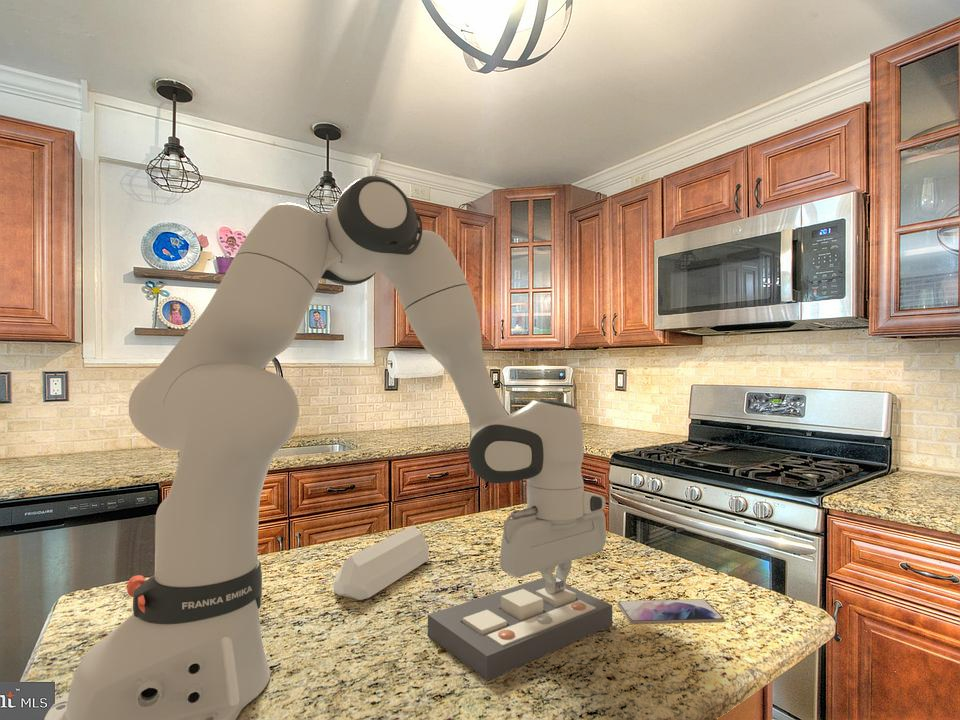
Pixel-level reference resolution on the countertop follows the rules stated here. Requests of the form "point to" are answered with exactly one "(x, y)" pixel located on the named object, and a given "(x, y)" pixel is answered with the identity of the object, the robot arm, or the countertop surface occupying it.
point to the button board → (516, 630)
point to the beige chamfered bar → (381, 564)
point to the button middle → (522, 604)
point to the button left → (484, 622)
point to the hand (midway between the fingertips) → (555, 591)
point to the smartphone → (669, 611)
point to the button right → (556, 597)
